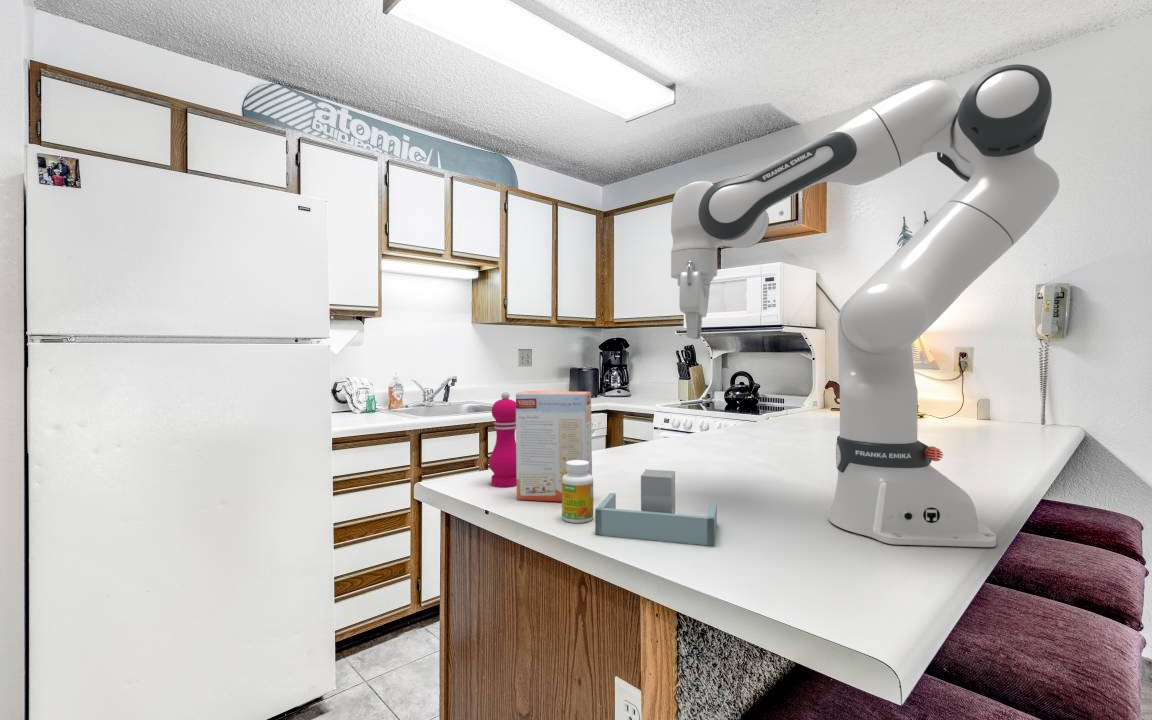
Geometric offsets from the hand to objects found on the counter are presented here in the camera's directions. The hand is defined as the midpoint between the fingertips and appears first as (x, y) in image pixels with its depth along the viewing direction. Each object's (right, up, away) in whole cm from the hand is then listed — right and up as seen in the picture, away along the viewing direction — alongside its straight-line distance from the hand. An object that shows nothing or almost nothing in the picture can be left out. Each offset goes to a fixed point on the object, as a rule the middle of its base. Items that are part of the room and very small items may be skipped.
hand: (694, 338), depth 106 cm
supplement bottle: (-23, -32, -13) cm, 41 cm away
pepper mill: (-38, -31, +11) cm, 51 cm away
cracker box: (-27, -32, -1) cm, 42 cm away
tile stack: (-10, -32, -19) cm, 38 cm away
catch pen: (-10, -31, -19) cm, 38 cm away
